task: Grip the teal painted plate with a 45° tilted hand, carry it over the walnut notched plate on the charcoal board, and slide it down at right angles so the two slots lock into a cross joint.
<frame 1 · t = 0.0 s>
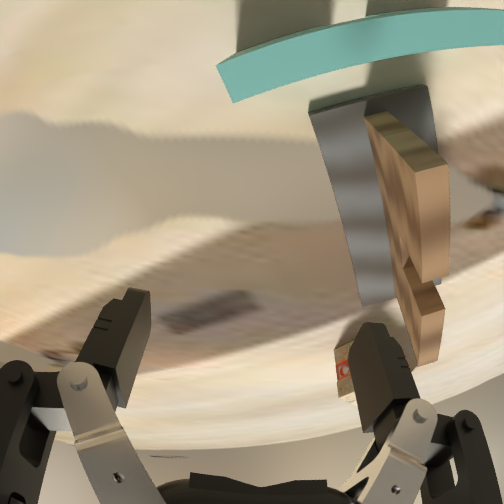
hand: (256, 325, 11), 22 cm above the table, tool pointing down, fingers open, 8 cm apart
stack of blocks: (376, 362, 54), on the table
halving stand: (392, 211, 34), on the table
teal plate: (347, 32, 22), on the table
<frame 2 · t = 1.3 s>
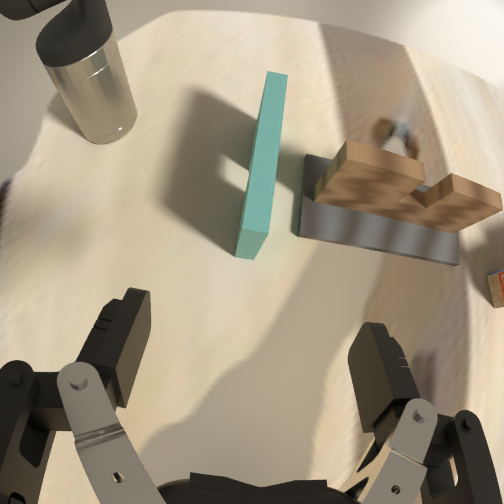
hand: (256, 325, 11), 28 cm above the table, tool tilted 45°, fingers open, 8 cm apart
halving stand: (387, 213, 44), on the table
teal plate: (254, 186, 43), on the table
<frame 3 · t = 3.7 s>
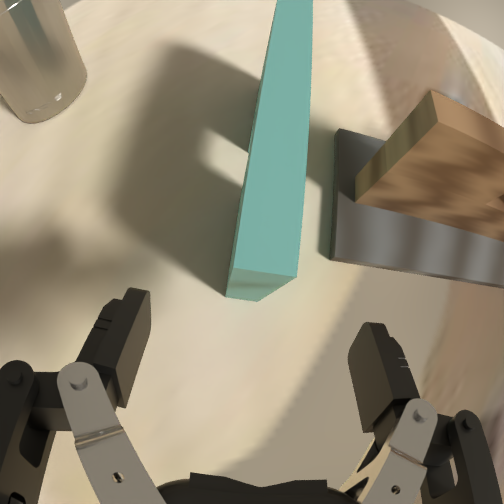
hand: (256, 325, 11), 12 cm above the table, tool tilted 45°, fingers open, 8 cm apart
halving stand: (453, 221, 27), on the table
teal plate: (258, 177, 26), on the table
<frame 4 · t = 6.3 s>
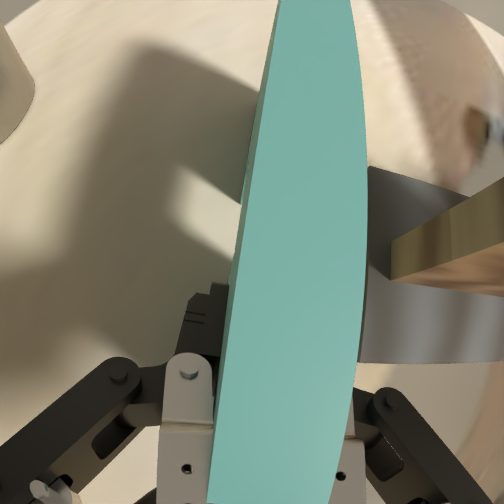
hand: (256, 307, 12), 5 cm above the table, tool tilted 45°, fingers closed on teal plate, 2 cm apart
halving stand: (500, 285, 20), on the table
teal plate: (255, 243, 18), on the table, touching gripper
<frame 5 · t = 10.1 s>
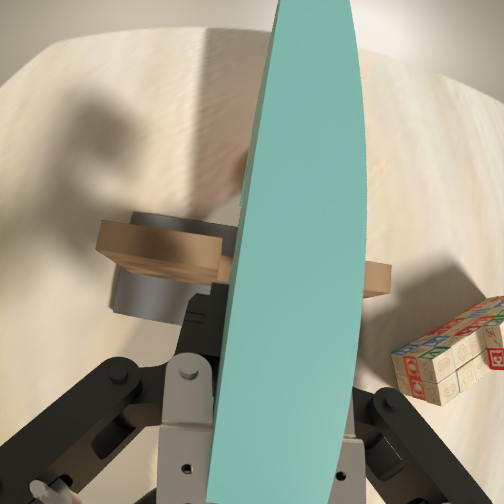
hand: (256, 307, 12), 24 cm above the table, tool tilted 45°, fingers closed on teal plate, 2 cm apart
stack of blocks: (449, 342, 39), on the table
halving stand: (237, 280, 37), on the table
teal plate: (254, 245, 18), point 19 cm above the table, touching gripper
when the fingers open (7 cm above the table, at t = 13.8 s): teal plate drops 1 cm, resting on halving stand.
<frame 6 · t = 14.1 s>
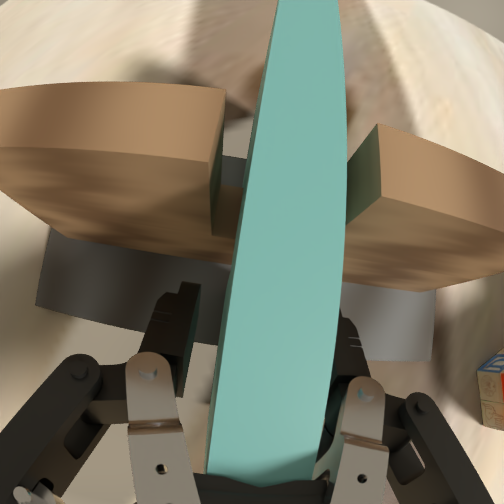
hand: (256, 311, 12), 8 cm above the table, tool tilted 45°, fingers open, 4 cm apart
halving stand: (250, 253, 21), on the table
teal plate: (251, 255, 19), point 1 cm above the table, touching halving stand
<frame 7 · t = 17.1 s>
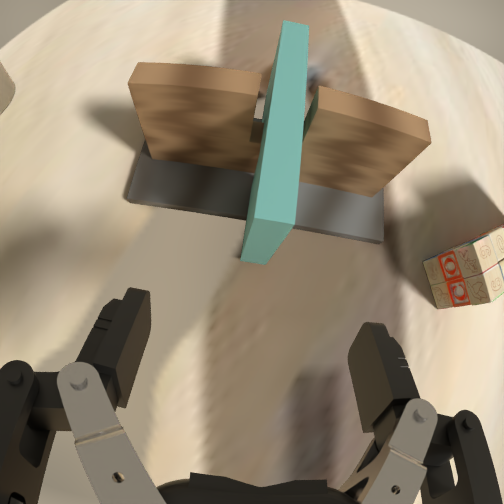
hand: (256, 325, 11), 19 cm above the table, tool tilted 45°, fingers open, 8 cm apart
stack of blocks: (479, 260, 35), on the table
halving stand: (264, 170, 34), on the table
teal plate: (266, 169, 33), point 1 cm above the table, touching halving stand
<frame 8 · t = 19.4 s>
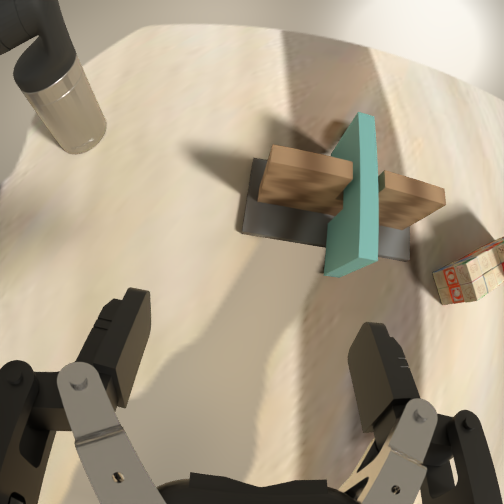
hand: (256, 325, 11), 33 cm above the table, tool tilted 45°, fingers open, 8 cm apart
stack of blocks: (471, 270, 50), on the table
halving stand: (333, 211, 49), on the table
teal plate: (335, 211, 47), point 1 cm above the table, touching halving stand
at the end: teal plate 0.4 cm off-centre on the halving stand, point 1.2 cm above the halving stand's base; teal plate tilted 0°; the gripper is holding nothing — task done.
